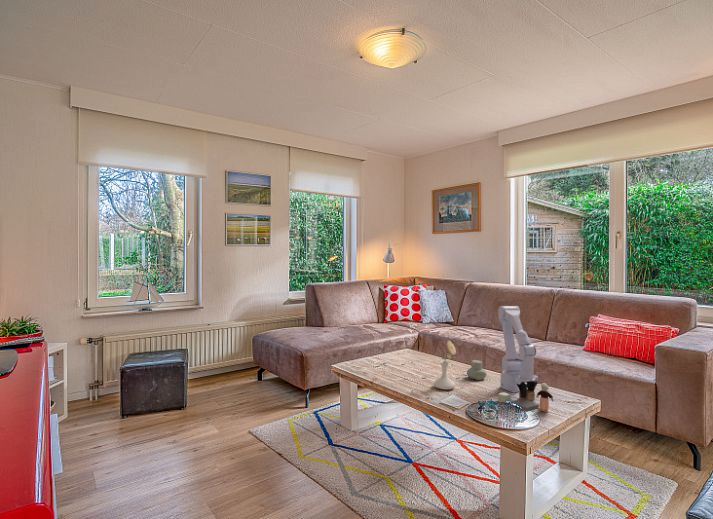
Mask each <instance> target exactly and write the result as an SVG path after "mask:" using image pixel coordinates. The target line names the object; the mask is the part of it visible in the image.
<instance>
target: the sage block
mask: <svg viewBox="0 0 713 519" xmlns="http://www.w3.org/2000/svg"><path fill="white" fill-rule="evenodd" d="M498 401H499V402H498ZM506 401H510V402H511V394H510V393H507V392H505V391H503V392H499V393H498V394H497V402H498V403H501V402H506Z"/></svg>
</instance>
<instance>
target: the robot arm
mask: <svg viewBox="0 0 713 519" xmlns="http://www.w3.org/2000/svg"><path fill="white" fill-rule="evenodd" d="M497 315H498V320H499V322H500V323H501V326H502V333H503V341H504V348H505V355H504V356H503V357H502V358H501V369H502V372H501V373H500V382H499V383H500V385H499V388H500V389H503V390H506V391H508V392H511V393H518V392H519V390H520V394H521V397H523V398H526V391H527V389H528V390H531V391H534V392H535V389H536V387H537V385H538V384H539V382H538V380H539V376H538V375H536V374H534V369H535V368H534V367H535V366H534V363H535V362H534V360H535V359H534V358H535V356H536V355H537V347H536V346H535V344H533V342H532V341H530V338H529V336H528V333H527V331H525V330H524V328H523V325H522V322H521V318H520V317H521V310H520V307H519V306H518V305H510V306H509V305H501V306H499V307H498V312H497ZM513 329H514V330H513ZM514 331H515V336H514ZM515 340H516V342H517V344H518V346H519V347H518V353H519V354H517V350H516V349H517V348H516V342H515Z"/></svg>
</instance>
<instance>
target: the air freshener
mask: <svg viewBox="0 0 713 519" xmlns="http://www.w3.org/2000/svg"><path fill="white" fill-rule="evenodd" d="M470 363H471V364H470V365H471V367H470V368H468V369H467V371H466V374H467V375H466V376H468V378H470V379H472V380H474V379H475V380H474V381H481V380H484V379H485V378H486V377H487V372H486V370H485V369H484V368H483V362H482V360H479V359H477V360H476V359H473V360H471V362H470Z"/></svg>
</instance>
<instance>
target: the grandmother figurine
mask: <svg viewBox="0 0 713 519" xmlns="http://www.w3.org/2000/svg"><path fill="white" fill-rule="evenodd" d="M540 388H541V390H539V391H538V392H537V394H536V395H535V398H536V399H538V398H539V408H537V411H539V412H542V411H543V412H544V413H549V407H550V406H549V399H550V401H551V402H554V401H555V400H554V396H553V395H552V394H551V393H550V392H549V391H548V390H549V389H550V387H549V385H548V384H547V383H546V382H543V383H541V384H540Z"/></svg>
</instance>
